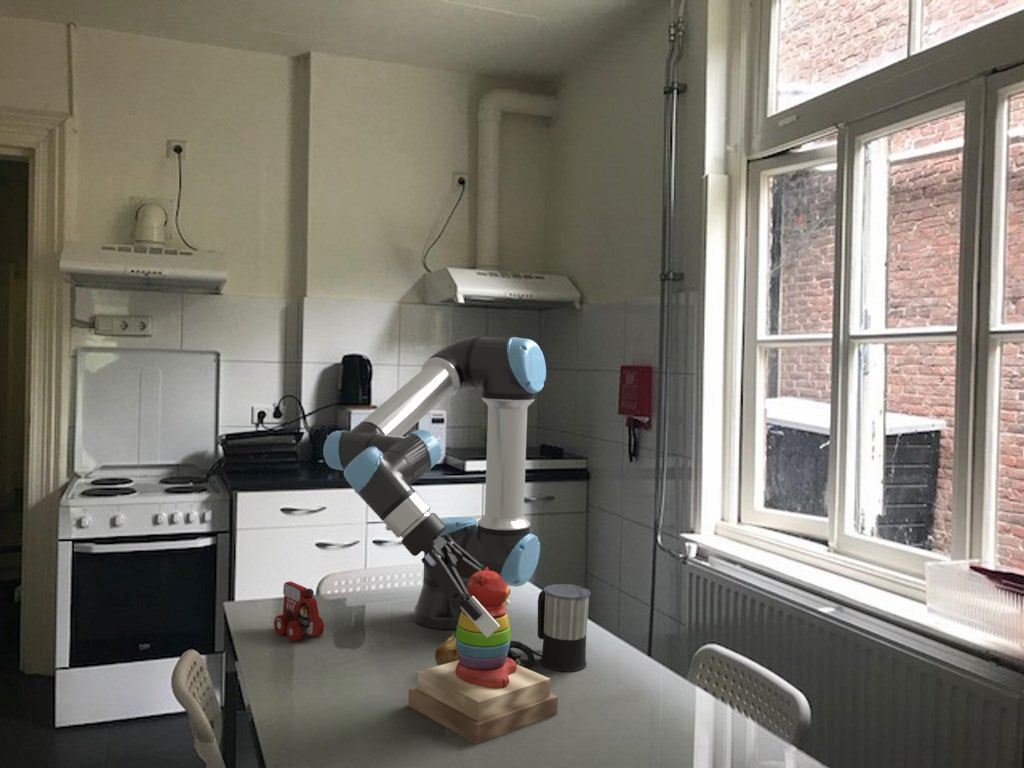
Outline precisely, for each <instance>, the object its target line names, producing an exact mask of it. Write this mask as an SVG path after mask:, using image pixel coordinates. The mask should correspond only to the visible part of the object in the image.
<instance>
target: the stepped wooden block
mask: <svg viewBox="0 0 1024 768" xmlns="http://www.w3.org/2000/svg"><path fill="white" fill-rule="evenodd" d="M458 662H459V660H458V661H454V662H450V663H447V664H443V665H440V666H438V665H437V666H433V667H429V668H426V669H422V670H419V671H418V670H417V680H416V681H417V682H416V686H412V687H409V688H408V701H407V703H408V704H407V706H408V707H410V708H411V709H413V710H415V711H416V710H417V712H418V713H420V714H422V715H424V716H425V717H427V718H429V719H431V720H433V721H434V722H436V723H438V724H440V725H442V726H444V727H445V728H447V729H449V730H450V731H452V732H453V733H456V734H458V735H459V736H461V737H463V738H464V739H466V740H469V741H471V742H472V743H474V744H476V745H478V744H479V745H480V744H481V743H484V742H486V741H490V740H492V739H495V738H498V737H500V736H503V735H505V734H508V733H511V732H514V731H517V730H519V729H521V728H524V727H528V726H530V725H532V724H535V723H538V722H540V721H543V720H546V719H548V718H551V717H553V716H556V715H558V705H559V696H557V695H555V694H553V693H551V678H550V677H547V676H545V675H543V674H540V673H538V672H536V671H534V670H530V669H529V668H524V667H522V666H519V665H517V669H516V671H515V672H514V673H511V674H509V675H508V678H509V684H508V685H507V686H505V687H501V688H492V687H485V686H479V685H475V684H472V683H469V682H466V681H464V680H462V679H460V678H459V677H458V676H457V675H456V673H455V670H456V666H457V664H458Z"/></svg>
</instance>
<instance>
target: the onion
mask: <svg viewBox="0 0 1024 768" xmlns="http://www.w3.org/2000/svg"><path fill="white" fill-rule="evenodd" d="M434 652H435V653H434V662H435V664H436V665H437V666H440V665H443V664H447V663H450V662H454V661H458V660H459V659H458V654H457V648H456V631H455V632H454V633H452V636H450V637H448V638H447V639H446V640H445V641H443V642H442V643H441V644H440V645H439V646H438V647H437V649H436V650H435V651H434Z"/></svg>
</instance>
